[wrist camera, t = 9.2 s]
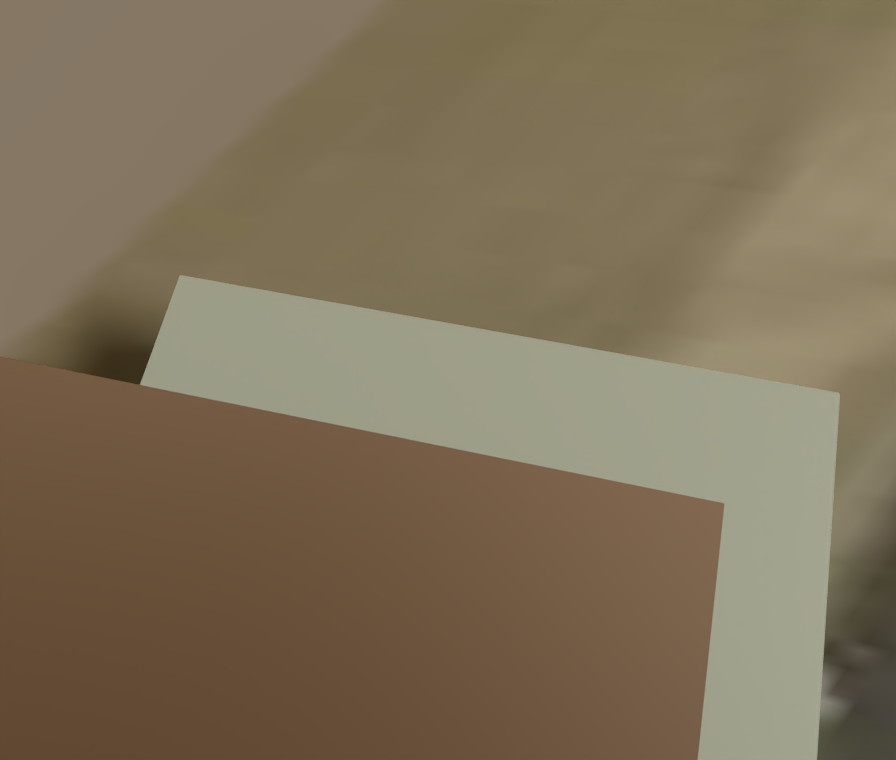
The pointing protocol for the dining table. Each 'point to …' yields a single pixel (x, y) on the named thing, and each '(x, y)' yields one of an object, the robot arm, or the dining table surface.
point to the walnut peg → (329, 591)
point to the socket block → (570, 456)
